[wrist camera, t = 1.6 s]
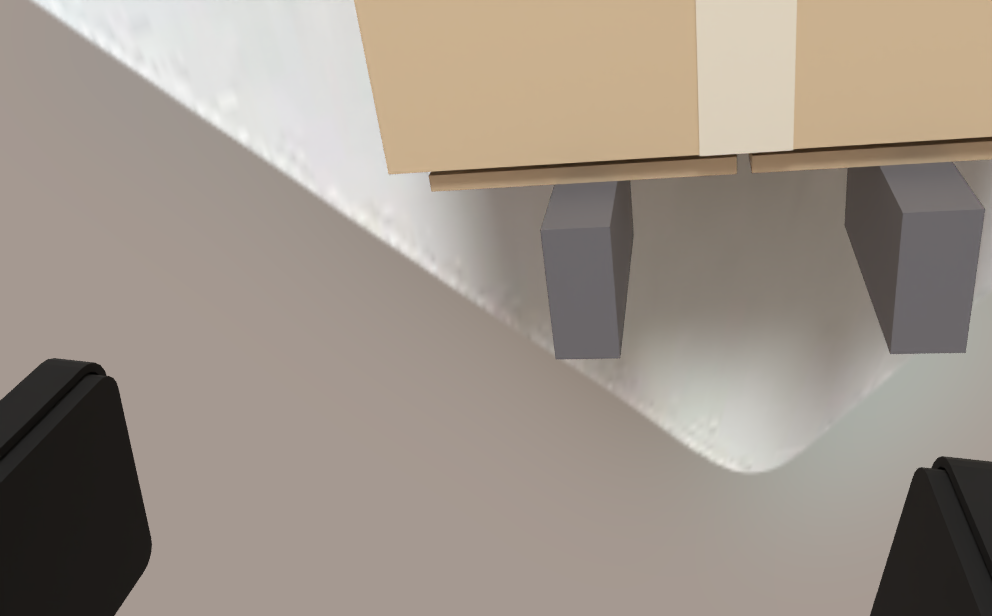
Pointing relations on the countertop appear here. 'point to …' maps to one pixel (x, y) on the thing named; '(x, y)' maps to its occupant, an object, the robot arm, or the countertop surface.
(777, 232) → the countertop surface
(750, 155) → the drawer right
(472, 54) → the carton
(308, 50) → the countertop surface
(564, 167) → the flap left
